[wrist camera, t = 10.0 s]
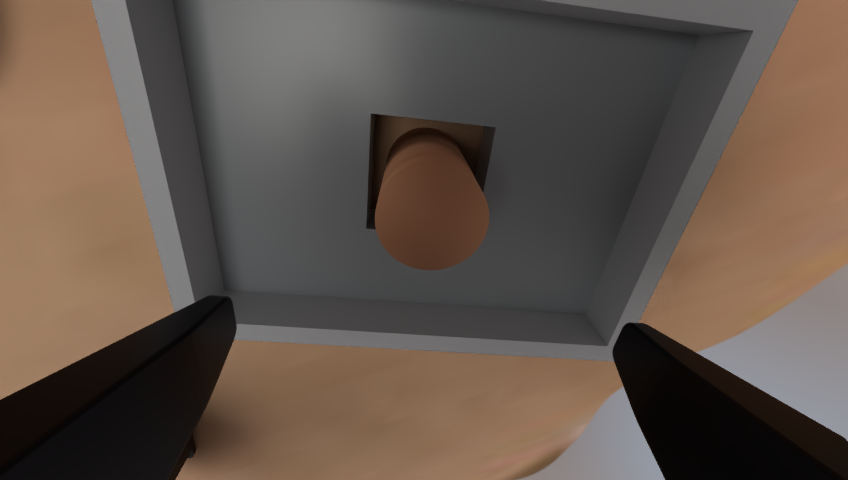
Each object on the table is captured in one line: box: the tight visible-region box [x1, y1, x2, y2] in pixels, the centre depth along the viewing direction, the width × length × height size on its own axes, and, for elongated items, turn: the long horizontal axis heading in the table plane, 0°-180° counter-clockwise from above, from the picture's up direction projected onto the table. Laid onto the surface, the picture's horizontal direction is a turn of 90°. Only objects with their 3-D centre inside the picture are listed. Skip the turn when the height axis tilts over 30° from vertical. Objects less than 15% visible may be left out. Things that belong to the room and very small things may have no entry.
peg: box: [375, 128, 489, 270], centre depth 15 cm, size 4×4×7 cm
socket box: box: [91, 0, 798, 361], centre depth 16 cm, size 22×16×5 cm
